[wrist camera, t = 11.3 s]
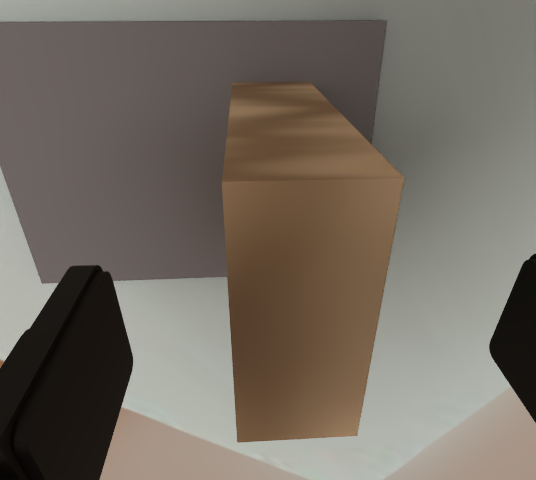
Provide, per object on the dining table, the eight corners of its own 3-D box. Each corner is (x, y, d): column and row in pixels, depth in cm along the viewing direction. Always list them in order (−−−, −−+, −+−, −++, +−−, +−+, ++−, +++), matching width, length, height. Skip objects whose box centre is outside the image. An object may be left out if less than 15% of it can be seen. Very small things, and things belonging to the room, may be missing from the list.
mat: (382, 20, 17) (387, 20, 17) (352, 266, 24) (354, 271, 23) (-42, 22, 17) (-51, 22, 16) (46, 277, 23) (42, 283, 23)
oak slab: (310, 81, 18) (406, 178, 8) (302, 235, 22) (358, 435, 12) (232, 82, 18) (221, 181, 7) (238, 237, 22) (237, 442, 11)
